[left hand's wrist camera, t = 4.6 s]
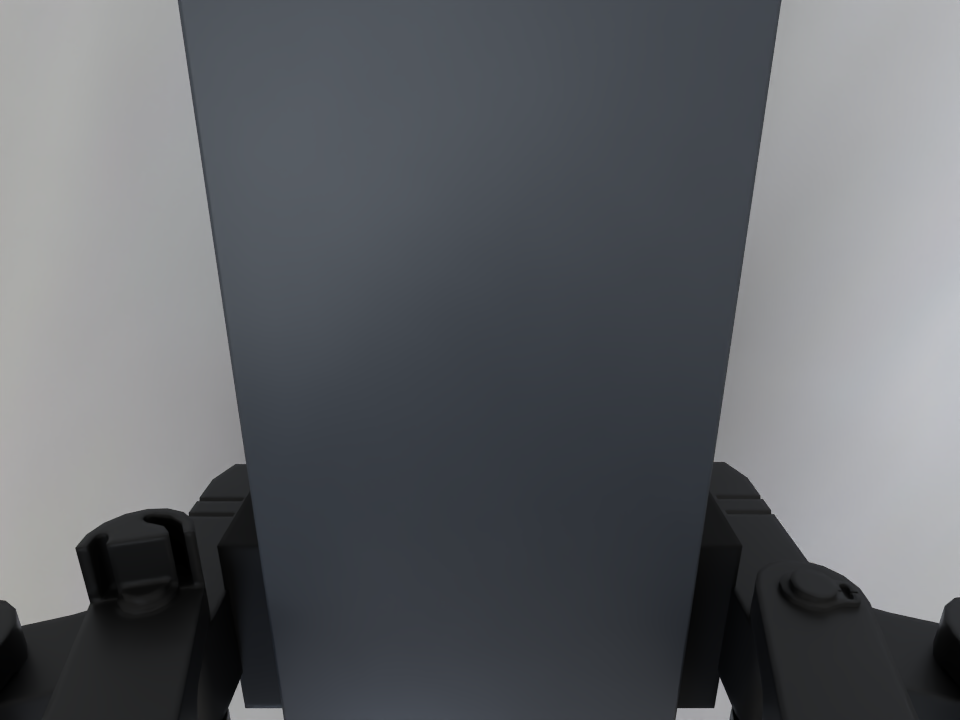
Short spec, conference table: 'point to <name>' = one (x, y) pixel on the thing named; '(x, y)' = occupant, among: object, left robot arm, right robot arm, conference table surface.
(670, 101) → the beam
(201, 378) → the conference table surface
